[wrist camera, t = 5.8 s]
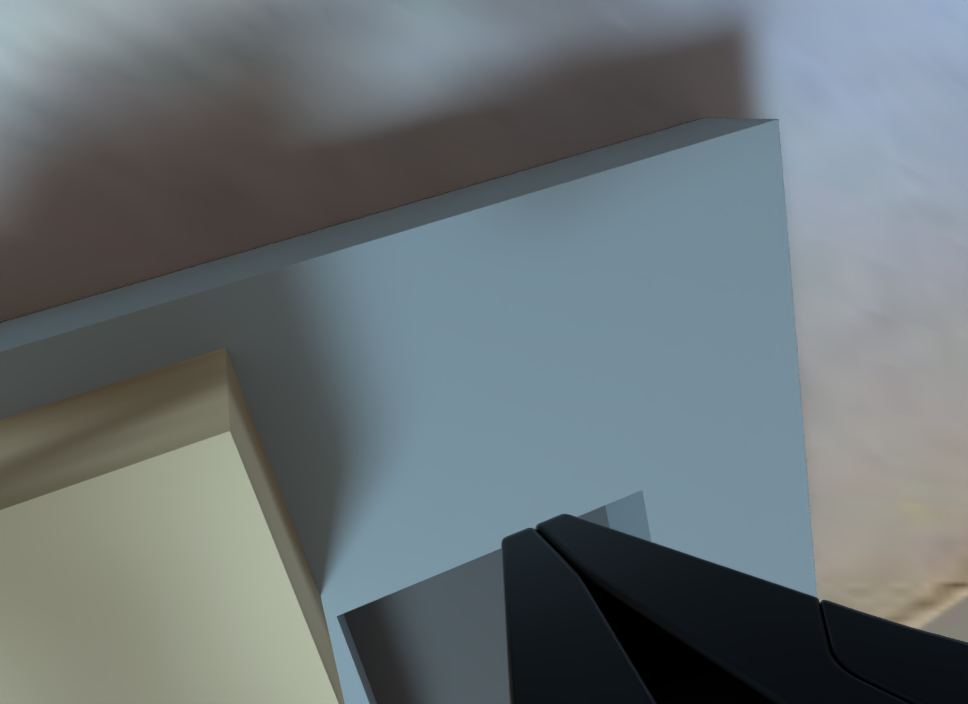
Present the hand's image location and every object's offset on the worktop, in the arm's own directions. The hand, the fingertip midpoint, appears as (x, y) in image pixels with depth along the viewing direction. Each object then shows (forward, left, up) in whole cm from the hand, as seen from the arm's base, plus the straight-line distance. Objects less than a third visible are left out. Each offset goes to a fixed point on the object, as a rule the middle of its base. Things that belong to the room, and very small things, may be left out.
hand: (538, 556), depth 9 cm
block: (+5, 0, -5) cm, 7 cm away
